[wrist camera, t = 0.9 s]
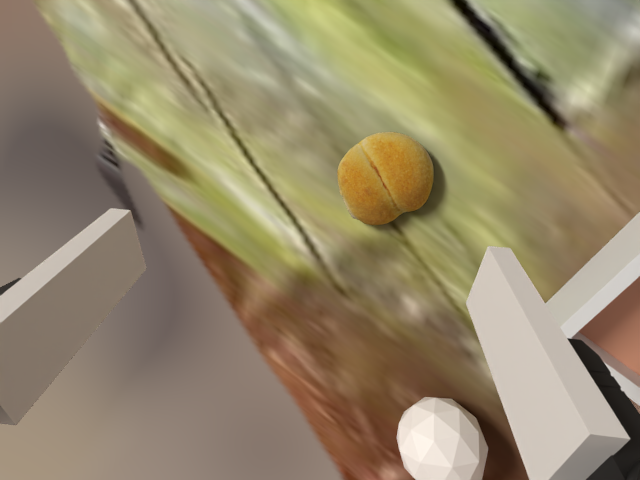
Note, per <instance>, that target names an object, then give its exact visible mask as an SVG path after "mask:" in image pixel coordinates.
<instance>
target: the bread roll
mask: <svg viewBox="0 0 640 480" xmlns="http://www.w3.org/2000/svg"><path fill="white" fill-rule="evenodd" d="M338 183H339V190H340V194H341V195H342V197H343V200H344V202H345V204H346V207H347V209H348V211H349V213H350V214H351V216H352V217H353V218H355V219H358V220H360V221H362V222H363V223H366V224H369V225H381V224H386V223H389V222H391V221H393V220H394V219H396V218H397V217H398V216H399V215H401V214H402V213H404V212H410V211H414V210H417V209H419V208H420V207H422V206H423V204H424V203H425V202H426V201H427V199H428V197H429V195H430V192H431V189H432V185H433V163H432V160H431V158H430V156H429V154H428V153H427V151H426V150H425V148H424V147H423V146H422V145H421V144H420V143H419V142H417V141H416V140H414V139H413V138H411V137H409V136H407V135H404V134H401V133H395V132H384V133H382V132H381V133H376V134H373V135H370V136H368V137H367V138H365V139H363V140H362V141H361V142H360V143H358V144H357V145H355V146H354V147H353V148H351V149H350V150H349V151H348V152H347V153H346V155H345V156H344V157H343V159H342V160H341V162H340V164H339V167H338Z"/></svg>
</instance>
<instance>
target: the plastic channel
mask: <svg viewBox="0 0 640 480" xmlns="http://www.w3.org/2000/svg"><path fill="white" fill-rule="evenodd" d="M546 306H547V307H548V309H549V311H550V312H551V314H552V315H553V317H554V319H555V320H556V322H557V323H558V325H559V326H560V328H561V330H562V331H563V333H564V334H565V336H566V338H570V339H579V340H582V341H583V342H584V343H585V344H587V345H588V346H589V347H590V348H591V349H592V350H593V351H594V352H596V353H597V354H598V355H599V356H600V358H601V359H602V361H603V362H604V363H605V365H606V366H607V368H608V369H609V371H610V372H611V376H614V378H615V379H616V381H617V382H618V384H619V385H620V387H621V391H624V392H625V394H626V395H627V397H629V398H630V399H631V400H633V401H634V402H635V403H637V404H638V405H639V406H640V212H639V213H638V214H637V215H636V216H635V217H634V218H633V219H632V220H631V221H630V222H629V223H628V224H627V225H626V226H625V227H624V228H623V229H622V230H620V231H619V232H618V233H617V234H616V235H615V236H614V237H613V238H612V239H611V240H610V241H609V242H608V243H607V244H606V245H605V246H604V247H603V248H602V249H601V250H600V251H599V252H598V253H597V254H596V255H595V256H594V257H593V258H592V259H591V260H590V261H589V262H588V263H587V264H586V265H585V266H584V267H582V268H581V269H580V270H579V271H578V272H577V273H576V274H575V275H574V276H573V277H572V278H571V279H570V280H569V281H568V282H567V283H566V284H565V285H564V286H563V287H562V288H561V289H560V290H559V291H558V292H557V293H556V294H555V295H554V296H553V297H552V298H551V299H550V300H549V301H548V302H547V303H546Z"/></svg>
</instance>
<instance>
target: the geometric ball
mask: <svg viewBox="0 0 640 480" xmlns="http://www.w3.org/2000/svg"><path fill="white" fill-rule="evenodd" d="M397 441H398V446H399V450H400V453H401V457H402V460H403V464H404V467H405V469H406V470H407V471H408V472H409V473H410V474H411V475H412V476H413V477H414V478H415V479H416V480H482V477H483V472H484V468H485V463H486V458H487V453H488V446H487V444H486V441H485V439H484V436H483V434H482V431H481V429H480V426H479V424H478V421H477V419H476V417H474V416H473V415H472V414H471V413H469V412H468V411H467V410H465V409H464V408H463V407H462V406H460V405H459V404H458V403H456V402H455V401H454V400H453V399H447V398H433V397H424V398H423V399H421V400H420V401H419V402H417V403H416V404H414V405H413V406H412V407H410V408H409V409H407V410H406V411H405V412H404V414H403V416H402V418H401V420H400V422H399V426H398V432H397Z"/></svg>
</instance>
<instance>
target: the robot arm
mask: <svg viewBox="0 0 640 480" xmlns="http://www.w3.org/2000/svg"><path fill="white" fill-rule="evenodd" d="M145 270H146V265H145V261H144V258H143V254H142V250H141V247H140V243H139V239H138V236H137V232H136V228H135V225H134V221H133V217H132V214H131V210H122V209H112V208H111V209H110V210H108V211H107V212H106V213H105V214H103V215H102V216H101V217H99V218H98V219H97V220H96V221H94V222H93V223H92V224H91V225H89V226H88V227H87V228H85V229H84V230H83V231H82V232H80V233H79V234H78V235H77V236H75V237H74V238H73V239H71V240H70V241H69V242H68V243H66V244H65V245H64V246H63V247H61V248H60V249H59V250H58V251H56V252H55V253H54V254H53V255H51V256H50V257H49V258H47V259H46V260H45V261H44V262H42V263H41V264H40V265H39V266H37V267H36V268H35V269H33V270H32V271H31V272H30V273H29V274H27V275H26V276H25V277H24V278H22V279H21V278H18V279H16V280H14V281H12V282H10V283H8V284H6V285H4V286H2V287H0V423H2V424H9V425H17V424H18V422H19V421H20V420H21V419H22V417H23V416H24V415H25V414H26V413H27V412H28V410H29V409H30V408H31V407H32V406H33V404H34V403H35V402H36V401H37V400H38V398H39V397H40V396H41V395H42V394H43V392H44V391H45V390H46V389H47V388H48V386H49V385H50V384H51V383H52V382H53V380H54V379H55V378H56V377H57V376H58V374H59V373H60V372H61V371H62V369H63V368H64V367H65V366H66V365H67V364H68V362H69V361H70V360H71V359H72V358H73V356H74V355H75V354H76V353H77V351H78V350H79V349H80V348H81V346H82V345H83V344H84V343H85V342H86V341H87V339H88V338H89V337H90V336H91V335H92V333H93V332H94V331H95V330H96V329H97V327H98V326H99V325H100V324H101V323H102V321H103V320H104V319H105V318H106V316H107V315H108V314H109V313H110V312H111V311H112V309H113V308H114V307H115V306H116V304H117V303H118V302H119V301H120V300H121V299H122V297H123V296H124V295H125V294H126V293H127V291H128V290H129V289H130V288H131V287H132V285H133V284H134V283H135V282H136V281H137V279H138V278H139V277H140V276H141V275H142V273H143V272H144V271H145ZM466 305H467V307H468V310H469V313H470V316H471V318H472V321H473V324H474V327H475V330H476V332H477V335H478V338H479V341H480V343H481V346H482V349H483V352H484V355H485V357H486V360H487V363H488V366H489V368H490V371H491V374H492V377H493V379H494V382H495V385H496V388H497V391H498V393H499V396H500V399H501V402H502V404H503V407H504V410H505V413H506V415H507V418H508V421H509V424H510V427H511V429H512V432H513V435H514V438H515V440H516V443H517V446H518V449H519V452H520V454H521V457H522V460H523V463H524V465H525V468H526V471H527V474H528V476H529V479H530V480H640V414H639V413H638V411H637V410H636V408H635V407H634V405H633V404H632V402H631V401H630V400H629V398H628V397H627V395H626V394H625V392H624V391H621V387H620V385H619V384H618V382H617V381H616V379H615V378H614V376H611V372H610V371H609V369H608V368H607V366H606V365H605V363H604V362H603V361H602V359H601V358H600V356H599V355H598V354H597V353H596V352H594V351H593V350H592V349H591V348H590V347H589V346H588V345H587V344H585V343H584V342H583V341H582V340H579V339H570V338H566V336H565V334H564V333H563V331H562V330H561V328H560V326H559V325H558V323H557V322H556V320H555V319H554V317H553V315H552V314H551V312H550V311H549V309H548V307H547V306H546V304H545V303H544V301H543V299H542V298H541V296H540V295H539V293H538V292H537V290H536V288H535V287H534V285H533V284H532V282H531V280H530V279H529V277H528V276H527V274H526V273H525V271H524V269H523V268H522V266H521V265H520V263H519V261H518V260H517V258H516V257H515V255H514V253H513V252H512V250H511V249H510V248H503V247H493V246H488V248H487V250H486V253H485V255H484V258H483V261H482V263H481V266H480V268H479V271H478V273H477V276H476V279H475V281H474V284H473V286H472V289H471V291H470V294H469V296H468V299H467V302H466Z"/></svg>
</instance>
